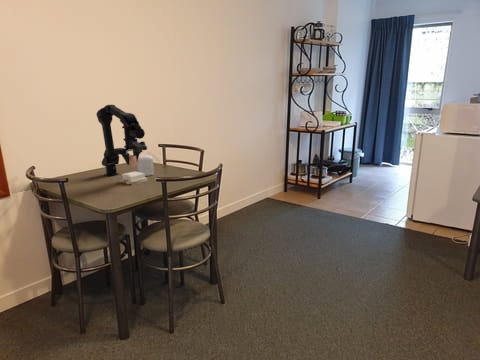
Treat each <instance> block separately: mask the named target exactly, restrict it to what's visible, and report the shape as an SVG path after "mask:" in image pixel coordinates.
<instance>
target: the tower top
mask: <svg viewBox="0 0 480 360" xmlns="http://www.w3.org/2000/svg"><path fill="white" fill-rule="evenodd" d="M145 177H146V176H145V175H144V174H143V173H139V172H137V170H136V171H135V170H134V171H131V172H125V173H122V174H121V178H122V179H125V180H129V181H135V180H139V179H143V178H145Z"/></svg>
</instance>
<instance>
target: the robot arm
mask: <svg viewBox="0 0 480 360" xmlns="http://www.w3.org/2000/svg"><path fill="white" fill-rule="evenodd" d="M113 116H114V117H116V118H118V120H119V122H120V123H121V124H122V127H121V129H123V133H124V138H123V141H124V146H123V147H115V144H114V137H113V133H112V126H111V124H112V122H113ZM96 117H97V121H98V122H99V124H101V128H102V135H103V139H104V141H103V142H104V147H105V150H104V153H103V158H102V159H101V160H102V161H101V165H102V166H103V167H105V173H104V174H103V175H105V176H108V177H112V176H117V175H120V174H119V172H117V165H119V162H120V155H121V157H122V158H123V160H125V161H124V162H125V163H126V165H127V166H128V165H129V155H131V153H129V152H132V155H136V159H137V161H138V157H140V156H141V153H143V151H146V150H148V146H147V145H146V142H145V141H139V140H141V139H143V138H144V137H145V135H146V133H145V130H144V129H143V128H142V126H141V125H140V122H139V121H138V119H137V117H136V115H135V114H134V113H131V112H126V111H124V110H122V109H121V108H119V107H117V106H116V105H115V104H105V106H103V107H101V108H100V109H98V110H97V112H96ZM138 139H139V140H138ZM138 141H139V142H138Z"/></svg>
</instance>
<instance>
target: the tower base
mask: <svg viewBox="0 0 480 360" xmlns="http://www.w3.org/2000/svg"><path fill="white" fill-rule="evenodd" d="M148 181H149V180H148V177H146V176H145V178H143V179H139V180H135V181H129V180H125V179H122V177H121V178H119V182H120V183H121V182H122V183H123V184H125V183H126V185H129V184H131V185H130V186H134V184H135V185H137V183H138V184H141V183H140V182H142V183H145V182H148ZM122 183H121V184H122Z"/></svg>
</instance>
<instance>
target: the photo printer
mask: <svg viewBox="0 0 480 360" xmlns="http://www.w3.org/2000/svg"><path fill="white" fill-rule="evenodd" d="M154 169H155V168H154V157H153V156H152V155H139V157H138V161H137V166H136V172H139V173H143V174H144V175H145V177H146V176H147V177H148V176H154V175H155V174H154V173H155V172H154V171H155V170H154Z"/></svg>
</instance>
